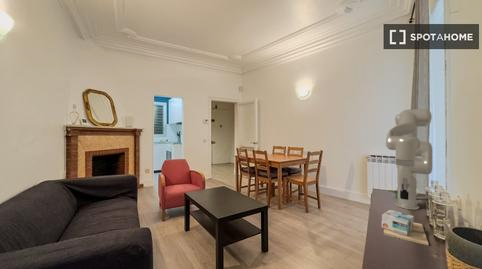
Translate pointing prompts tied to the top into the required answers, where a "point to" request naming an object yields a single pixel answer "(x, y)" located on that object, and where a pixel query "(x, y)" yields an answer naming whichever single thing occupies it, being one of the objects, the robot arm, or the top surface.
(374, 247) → the top surface
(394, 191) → the figurine
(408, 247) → the top surface
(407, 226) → the light bulb box
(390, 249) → the top surface
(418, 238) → the oak board
